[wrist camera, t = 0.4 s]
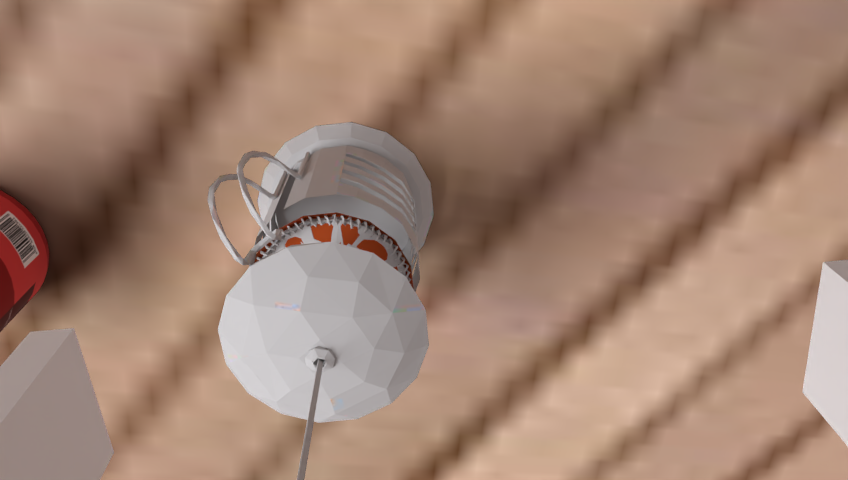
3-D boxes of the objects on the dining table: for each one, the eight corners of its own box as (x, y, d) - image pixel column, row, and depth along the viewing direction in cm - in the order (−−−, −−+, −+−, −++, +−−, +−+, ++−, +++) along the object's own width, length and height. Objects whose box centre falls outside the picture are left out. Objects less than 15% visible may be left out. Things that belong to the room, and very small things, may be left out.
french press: (339, 316, 44) (277, 752, 21) (196, 174, 40) (-69, 521, 17) (469, 218, 42) (556, 589, 19) (330, 57, 38) (229, 279, 15)
